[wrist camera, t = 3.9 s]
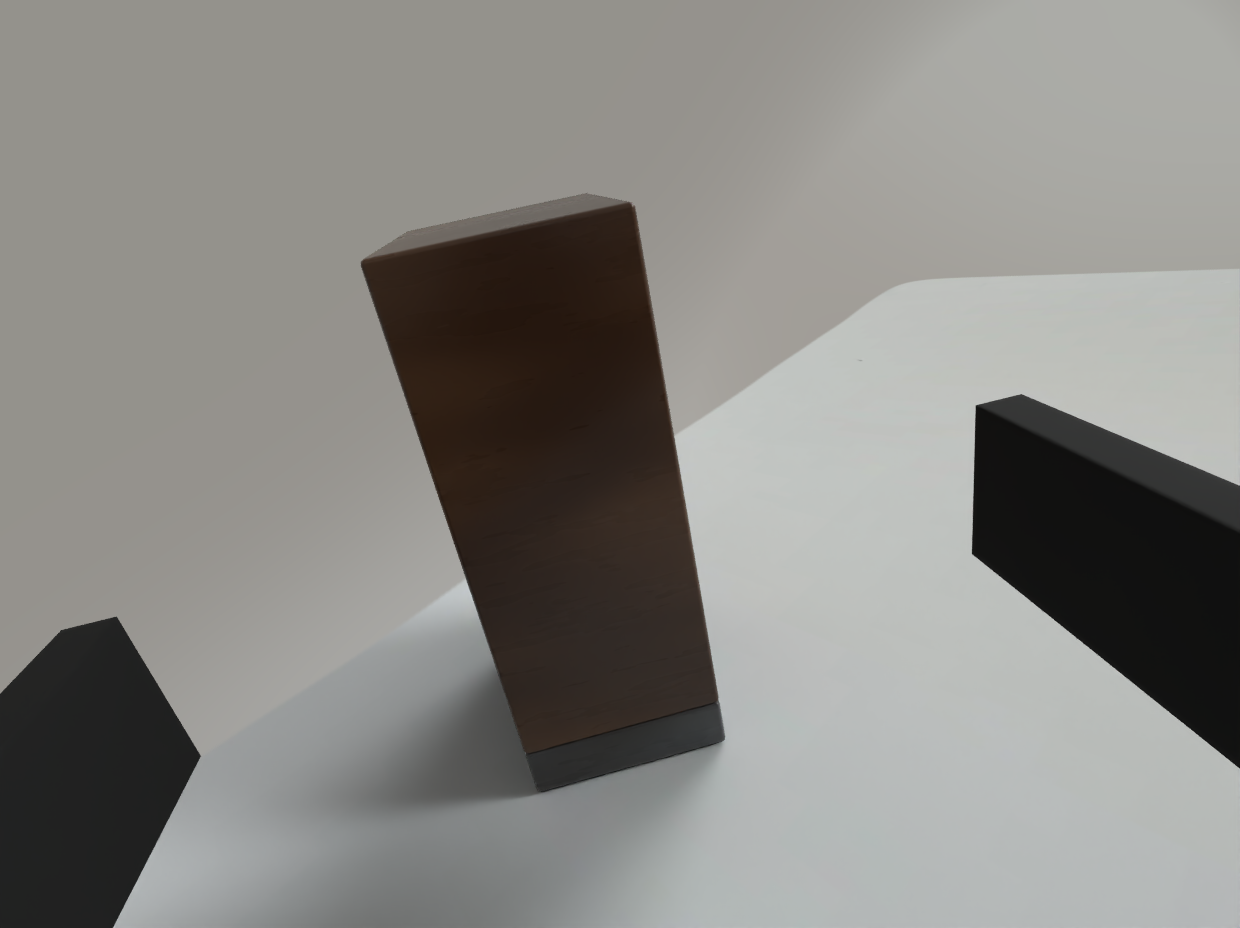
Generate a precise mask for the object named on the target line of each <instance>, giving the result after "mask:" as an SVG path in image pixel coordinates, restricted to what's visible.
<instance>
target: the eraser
mask: <svg viewBox="0 0 1240 928" xmlns="http://www.w3.org/2000/svg"><path fill="white" fill-rule="evenodd" d="M361 268H362V271H363V274H364V277H365V280H366V283H367V286H368V289H369V292H370V295H371V298H372V301H373V304H374V307H375V310H376V312H377V315H378V318H379V321H380V324H381V327H382V330H383V333H384V336H385V339H386V342H387V345H388V348H389V351H390V354H391V357H392V360H393V363H394V366H395V369H396V372H397V375H398V378H399V381H400V383H401V387H402V390H403V392H404V396H405V399H406V402H407V405H408V408H409V411H410V414H411V416H412V420H413V422H414V426H415V428H416V431H417V434H418V437H419V440H420V443H421V446H422V449H423V452H424V455H425V458H426V461H427V464H428V467H429V470H430V473H431V476H432V479H433V482H434V485H435V488H436V491H437V494H438V497H439V500H440V503H441V506H442V508H443V512H444V515H445V517H446V521H447V523H448V527H449V529H450V532H451V535H452V538H453V541H454V544H455V547H456V550H457V553H458V556H459V559H460V562H461V565H462V568H463V571H464V574H465V577H466V580H467V583H468V586H469V589H470V592H471V595H472V598H473V601H474V604H475V607H476V610H477V613H478V616H479V619H480V622H481V625H482V628H483V631H484V634H485V637H486V639H487V642H488V645H489V648H490V651H491V654H492V657H493V660H494V663H495V666H496V669H497V672H498V675H499V678H500V681H501V684H502V687H503V690H504V693H505V696H506V699H507V702H508V705H509V708H510V711H511V714H512V717H513V720H514V723H515V726H516V729H517V732H518V735H519V738H520V741H521V744H522V746H523V749H524V751H525V753H526V758H527V761H528V764H529V767H530V770H531V773H532V776H533V779H534V782H535V785H536V788H537V790H538V791H541V792H542V791H545V790H549V789H553V788H556V787H560V786H563V785H567V784H570V783H574V782H578V781H581V780H585V779H588V778H592V777H596V776H599V775H603V774H606V773H610V772H614V771H617V770H621V769H624V768H628V767H631V766H635V765H639V764H642V763H646V762H649V761H653V760H657V759H660V758H664V757H667V756H671V755H675V754H678V753H682V752H685V751H689V750H693V749H696V748H700V747H703V746H707V745H710V744H714V743H718V742H721V741H723V740H724V739H725V733H724V727H723V721H722V715H721V709H720V703H719V701H718V691H717V685H716V679H715V674H714V668H713V662H712V656H711V650H710V644H709V638H708V632H707V627H706V621H705V615H704V609H703V603H702V597H701V591H700V585H699V580H698V574H697V568H696V562H695V556H694V550H693V544H692V538H691V532H690V527H689V521H688V515H687V509H686V503H685V497H684V491H683V485H682V480H681V474H680V468H679V462H678V456H677V450H676V444H675V438H674V433H673V427H672V421H671V415H670V409H669V403H668V397H667V391H666V385H665V380H664V374H663V368H662V362H661V356H660V351H659V344H658V338H657V332H656V327H655V321H654V315H653V309H652V303H651V297H650V292H649V285H648V280H647V274H646V268H645V262H644V256H643V250H642V244H641V239H640V233H639V227H638V221H637V215H636V209H635V206H634V204H633V203H632V202H627V201H622V200H617V199H612V198H607V197H602V196H597V195H592V194H587V193H586V194H581V195H576V196H572V197H567V198H562V199H558V200H553V201H548V202H544V203H539V204H534V205H529V206H525V207H520V208H516V209H511V210H506V211H502V212H497V213H492V214H487V215H483V216H478V217H473V218H468V219H464V220H459V221H454V222H450V223H445V224H440V225H436V226H431V227H426V228H421V229H417V230H412V231H408V232H406V233H404V234H403V235H401V236H400V237H398V238H397V239H395V240H393V241H392V242H390V243H388V244H387V245H385V246H384V247H382V248H381V249H379V250H377V251H376V252H374V253H373V254H371V255H369V256H368V257H366V258H365V259H363V260H362V261H361Z"/></svg>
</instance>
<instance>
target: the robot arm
mask: <svg viewBox="0 0 1240 928" xmlns="http://www.w3.org/2000/svg"><path fill="white" fill-rule="evenodd" d="M972 554H973V555H974V556H975V557H976V558H978V559H979V560H980V561H981V562H983V563H984V564H985V565H986V566H988V567H989V568H990V569H991V570H993V571H994V572H995V573H996V574H998V575H999V576H1000V577H1001V578H1003V579H1004V580H1005V581H1006V582H1008V583H1009V584H1010V585H1011V586H1013V587H1014V588H1015V589H1016V590H1018V591H1019V592H1020V593H1021V594H1023V595H1024V596H1025V597H1026V598H1028V599H1029V600H1030V601H1031V602H1033V603H1034V604H1035V605H1036V606H1038V607H1039V608H1040V609H1041V610H1043V611H1044V612H1045V613H1046V614H1048V615H1049V616H1050V617H1051V618H1053V619H1054V620H1055V621H1056V622H1058V623H1059V624H1060V625H1061V626H1063V627H1064V628H1065V629H1066V630H1068V631H1069V632H1070V633H1071V634H1073V635H1074V636H1075V637H1076V638H1078V639H1079V640H1080V641H1081V642H1083V643H1084V644H1085V645H1086V646H1088V647H1089V648H1090V649H1091V650H1093V651H1094V652H1095V653H1096V654H1098V655H1099V656H1100V657H1101V658H1103V659H1104V660H1105V661H1106V662H1108V663H1109V664H1110V665H1111V666H1112V667H1114V668H1115V669H1116V670H1117V671H1119V672H1120V673H1121V674H1122V675H1124V676H1125V677H1126V678H1127V679H1129V680H1130V681H1131V682H1132V683H1134V684H1135V685H1136V686H1137V687H1139V688H1140V689H1141V690H1142V691H1144V692H1145V693H1146V694H1147V695H1149V696H1150V697H1151V698H1152V699H1154V700H1155V701H1156V702H1157V703H1159V704H1160V705H1161V706H1162V707H1164V708H1165V709H1166V710H1167V711H1169V712H1170V713H1171V714H1172V715H1174V716H1175V717H1176V718H1177V719H1179V720H1180V721H1181V722H1182V723H1184V724H1185V725H1186V726H1187V727H1189V728H1190V729H1191V730H1192V731H1194V732H1195V733H1196V734H1197V735H1199V736H1200V737H1201V738H1202V739H1204V740H1205V741H1206V742H1207V743H1209V744H1210V745H1211V746H1212V747H1214V748H1215V749H1216V750H1217V751H1219V752H1220V753H1221V754H1222V755H1224V756H1225V757H1226V758H1227V759H1229V760H1230V761H1231V762H1232V763H1234V764H1235V765H1236V766H1237V767H1239V768H1240V486H1239V485H1236V484H1234V483H1231V482H1229V481H1227V480H1224V479H1222V478H1220V477H1217V476H1215V475H1212V474H1210V473H1208V472H1205V471H1203V470H1201V469H1198V468H1196V467H1193V466H1191V465H1189V464H1186V463H1184V462H1181V461H1179V460H1177V459H1174V458H1172V457H1170V456H1167V455H1165V454H1162V453H1160V452H1158V451H1155V450H1153V449H1150V448H1148V447H1146V446H1143V445H1141V444H1139V443H1136V442H1134V441H1131V440H1129V439H1127V438H1124V437H1122V436H1120V435H1117V434H1115V433H1112V432H1110V431H1108V430H1105V429H1103V428H1100V427H1098V426H1096V425H1093V424H1091V423H1089V422H1086V421H1084V420H1081V419H1079V418H1077V417H1074V416H1072V415H1070V414H1067V413H1065V412H1062V411H1060V410H1058V409H1055V408H1053V407H1050V406H1048V405H1046V404H1043V403H1041V402H1039V401H1036V400H1034V399H1031V398H1029V397H1027V396H1024V395H1022V394H1020V395H1016V396H1012V397H1008V398H1004V399H1000V400H996V401H992V402H988V403H984V404H980V405H976V418H975V457H974V496H973V535H972ZM200 757H201V756H200V754H199V752H198V751H197V749H196V747H195V746H194V744H193V743H192V741H191V739H190V737H189V736H188V734H187V732H186V731H185V729H184V728H183V726H182V724H181V722H180V721H179V719H178V718H177V716H176V714H175V713H174V711H173V709H172V708H171V706H170V704H169V703H168V701H167V699H166V698H165V696H164V694H163V693H162V691H161V689H160V688H159V686H158V684H157V683H156V681H155V679H154V678H153V676H152V675H151V673H150V671H149V669H148V668H147V666H146V664H145V663H144V661H143V660H142V658H141V656H140V655H139V653H138V651H137V650H136V648H135V646H134V645H133V643H132V641H131V640H130V638H129V636H128V635H127V633H126V631H125V630H124V628H123V626H122V625H121V623H120V621H119V620H118V618H117V617H113V618H110V619H105V620H101V621H97V622H93V623H89V624H85V625H81V626H76V627H72V628H68V629H64V630H61V631H60V633H58V634H57V636H55V637H54V638H53V640H52V641H51V642H50V643H49V644H48V645H47V646H46V647H45V648H44V649H43V650H42V651H41V652H40V653H39V654H38V655H37V656H36V657H35V658H34V659H33V660H32V661H31V662H30V663H29V664H28V665H27V667H26V668H25V669H24V670H23V671H22V672H21V673H20V674H19V675H18V676H17V677H16V678H15V679H14V680H13V681H12V682H11V683H10V684H9V685H8V686H7V688H5V689H4V690H3V692H2V693H1V694H0V928H113V926H114V924H115V923H116V921H117V919H118V917H119V915H120V913H121V911H122V909H123V907H124V905H125V903H126V901H127V899H128V897H129V895H130V893H131V891H132V889H133V887H134V885H135V884H136V882H137V880H138V878H139V876H140V874H141V872H142V870H143V868H144V866H145V864H146V862H147V860H148V858H149V856H150V854H151V852H152V850H153V848H154V846H155V845H156V843H157V841H158V839H159V837H160V835H161V833H162V831H163V829H164V827H165V825H166V823H167V821H168V819H169V817H170V815H171V813H172V811H173V809H174V807H175V806H176V804H177V802H178V800H179V798H180V796H181V794H182V792H183V790H184V788H185V786H186V784H187V782H188V780H189V778H190V776H191V774H192V772H193V770H194V768H195V767H196V765H197V763H198V761H199V759H200Z"/></svg>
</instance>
